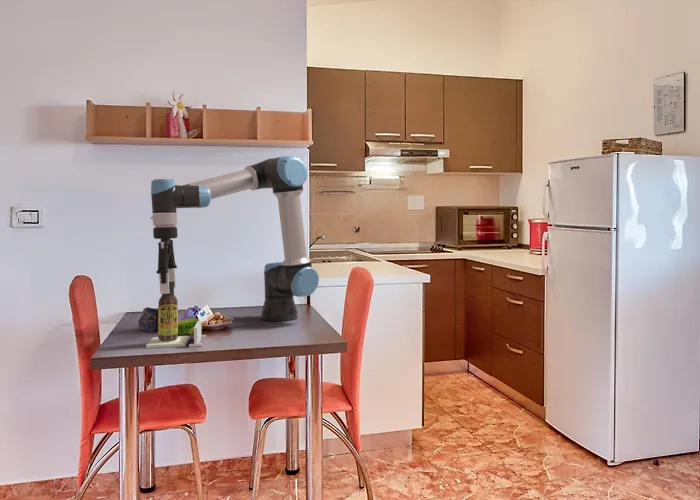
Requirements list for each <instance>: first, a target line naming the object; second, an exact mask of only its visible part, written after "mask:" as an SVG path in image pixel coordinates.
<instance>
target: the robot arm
mask: <svg viewBox="0 0 700 500" xmlns="http://www.w3.org/2000/svg"><path fill="white" fill-rule="evenodd" d="M307 179H308V169H307V166H306V164H305V163H304V161H302V160H301V159H300V158H299V157H298V156H295V155H284V156H280V157H278V156H277V157H271V158H268V159H264V160H263V161H260V162H258V163H254V164H251V165H248V166H245V168H244V169H242V170H239V171H238V170H237V171H234V172H230V173H226V174H223V175H222V174H221V175H218V176H215V177H214V176H213V177H210V178H207V179H206V178H205V179H201V180H199V181H194V182H190V183H187V184H183V185H180V184H179V185H178V184H177V183H176V181H175V179H172V178H155V179H153V180H151V184H150V187H151V188H150V197H151V210H152V211H151V212H152V216H151V217H150V219H151V220H152V226H154V227H153V228H152V235H153V239H154V240H155V239H156V240H160V241H158V243H157V245H158V255H157V256H158V258H157V259H158V260H157V270H156V274H157V275H159V277H158V278H159V294H160V295H162V294H169V280H174V281H175V282H176V269H177V268H178V265H176V261H175V252H174V240H173V239H177V238H178V227H177V225H178V217H177V215H178V213H177V209H195V208H196V209H201V208H208V207H209V206H210V203H211V201H212V200H214V199H218V198H221V197H225V196H228V195H232V194H236V193H239V192H242V191H247V190H250V191H256V190H261V189H272V194H273V195H274V196H275V197H276V198H277V205H278V213H279V222H280V223H279V224H280V229H281V237H282V240H281V241H282V247H283V254H284V259H283V261H278V262H270V263H266V264H265V265H264V269H263V270H264V271H263V275H264V276H263V278H264V279H263V280H264V300H263V301H264V302H263V305H262V309H261V312H260V319H261V320H263V321H268V322H285V321H293V320H295V319H296V320H297V319H298V318H299V312H298V310H297V306H296V303H295V301H294V296H295V297H298V298H302V297H303V298H305V297H309V296H311V295H312V294H314V292H315V291H316V290H317V288H318V285H319V282H320V277H319V273H318V271H316V269H315V268H313V266H312V260H311V258H309V257H308V255H307V247H306V239H305V229H304V221H303V209H302V203H301V195H302V193H303V191H304V186H303V185H304V184H305V183H306V180H307ZM175 288H176V283H175V284H174V289H175Z"/></svg>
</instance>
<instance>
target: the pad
mask: <svg viewBox="0 0 700 500" xmlns="http://www.w3.org/2000/svg"><path fill="white" fill-rule="evenodd" d="M177 337H178V338H177V339H176V340H173V341H161V340H159V336H158V337H157V336H156V337H155V336H154V337H152V338H151V339H150V340H149V341H148V342H147V344H146V345H145V348H146V349H157V348H162V349H164V348H185V347H186V346H187V344H188V342H189V340H190V335H177Z"/></svg>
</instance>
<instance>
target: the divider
mask: <svg viewBox="0 0 700 500" xmlns="http://www.w3.org/2000/svg"><path fill="white" fill-rule="evenodd" d="M201 324H202V320H199V321H198V322H197V324H196V325H195V327H194V333H193V340H194V341H193V342H194V343H189V345H188V346H189V348H198V347H199V348H200V347H203V343H200V341H201V340H202V339H206V338H207V335H206V334H202V331H201Z"/></svg>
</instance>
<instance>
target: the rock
mask: <svg viewBox="0 0 700 500" xmlns="http://www.w3.org/2000/svg"><path fill="white" fill-rule="evenodd" d="M158 308H159V307H158ZM158 308H157V307H155V308H153V307H148V306H146V307H144V308H143V309H142V312H143V313H142V315H141V316H140V318H139V319H138V321H137V322H138V323H137V326H138V327H139V329H140V330H142V331H145V332H151V333H152V332H155V331H158Z"/></svg>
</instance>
